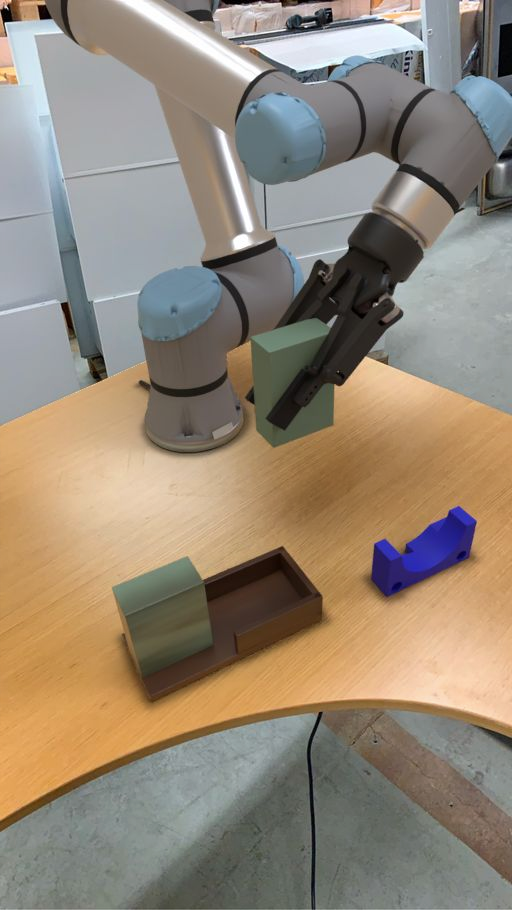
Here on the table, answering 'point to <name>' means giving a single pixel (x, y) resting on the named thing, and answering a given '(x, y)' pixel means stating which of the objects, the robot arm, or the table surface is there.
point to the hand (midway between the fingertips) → (264, 413)
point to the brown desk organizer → (211, 616)
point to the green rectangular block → (289, 379)
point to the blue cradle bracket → (424, 553)
